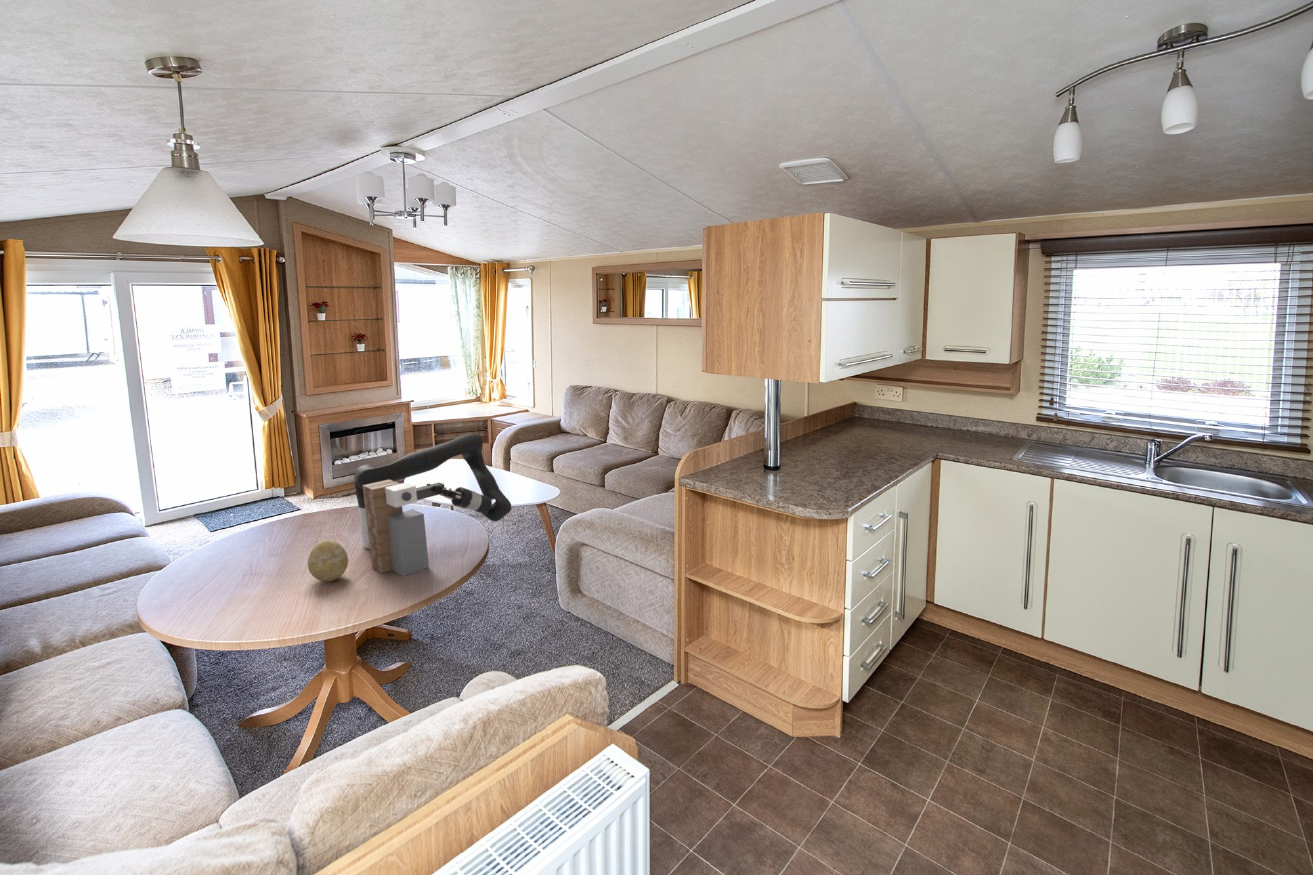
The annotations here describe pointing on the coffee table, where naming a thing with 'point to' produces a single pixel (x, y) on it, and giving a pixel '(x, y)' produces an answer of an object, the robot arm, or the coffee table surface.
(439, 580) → the coffee table surface
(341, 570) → the fossilized egg
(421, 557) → the grey rectangular block
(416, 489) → the action camera
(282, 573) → the coffee table surface
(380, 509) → the walnut post
